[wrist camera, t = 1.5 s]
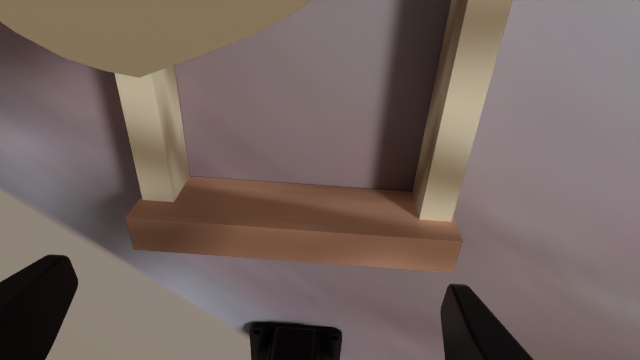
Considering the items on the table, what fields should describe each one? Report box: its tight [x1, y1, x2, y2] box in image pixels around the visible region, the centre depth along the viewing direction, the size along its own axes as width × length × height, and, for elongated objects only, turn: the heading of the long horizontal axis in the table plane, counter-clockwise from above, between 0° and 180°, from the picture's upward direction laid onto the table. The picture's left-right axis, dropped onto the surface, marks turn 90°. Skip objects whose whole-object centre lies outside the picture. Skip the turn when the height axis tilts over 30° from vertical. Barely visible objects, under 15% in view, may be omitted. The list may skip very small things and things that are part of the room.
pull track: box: [115, 0, 512, 273], centre depth 17 cm, size 20×16×4 cm
